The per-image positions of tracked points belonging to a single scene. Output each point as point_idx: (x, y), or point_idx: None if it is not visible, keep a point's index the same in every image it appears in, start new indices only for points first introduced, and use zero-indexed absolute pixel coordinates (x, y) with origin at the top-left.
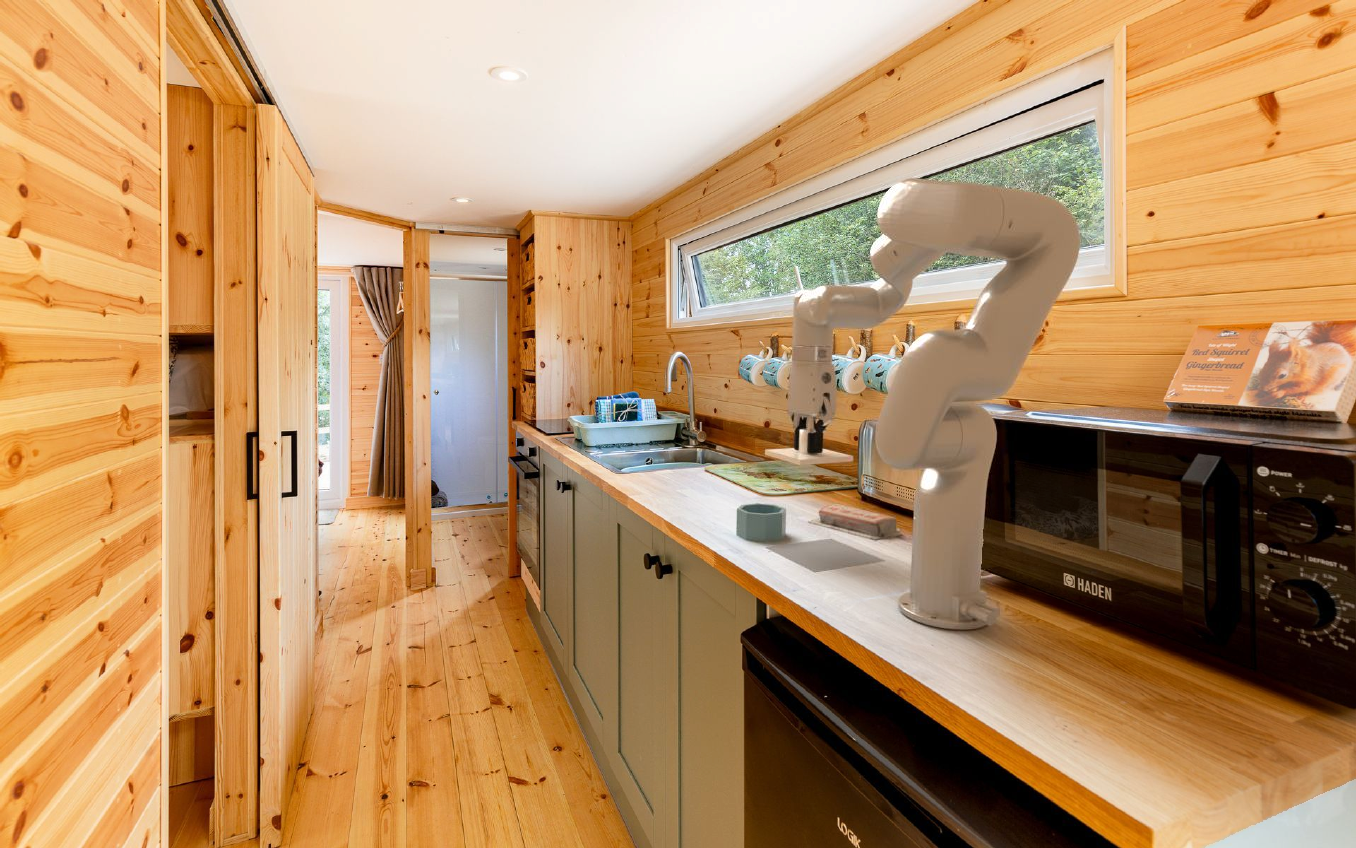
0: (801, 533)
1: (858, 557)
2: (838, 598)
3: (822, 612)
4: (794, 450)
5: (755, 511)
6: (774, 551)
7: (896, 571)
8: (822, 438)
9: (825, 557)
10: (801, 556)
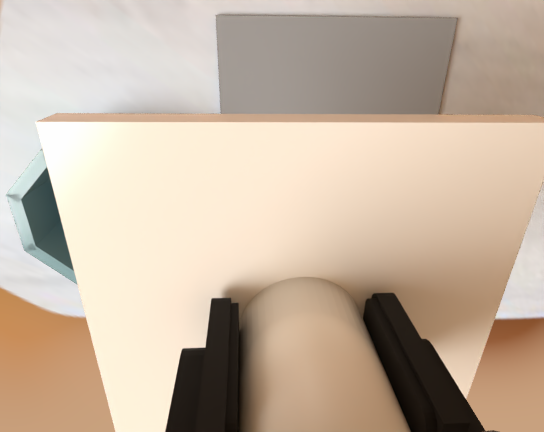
0: (114, 55)
1: (397, 71)
2: (521, 258)
3: (539, 307)
4: None
5: (37, 199)
6: None
7: (511, 43)
8: (437, 373)
9: None
10: None
